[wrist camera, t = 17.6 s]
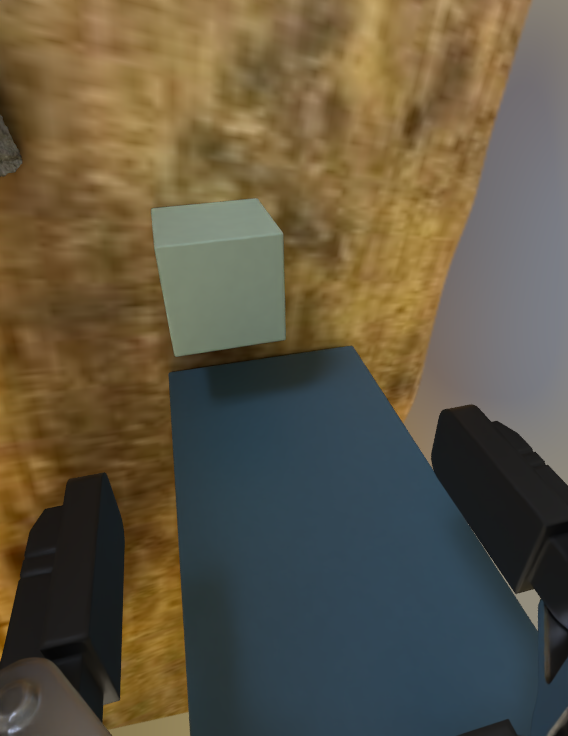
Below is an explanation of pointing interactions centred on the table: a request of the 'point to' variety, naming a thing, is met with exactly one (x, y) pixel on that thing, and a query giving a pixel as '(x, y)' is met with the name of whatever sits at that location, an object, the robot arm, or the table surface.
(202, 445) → the shelf
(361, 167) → the table surface
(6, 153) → the grey cloth
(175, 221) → the block
